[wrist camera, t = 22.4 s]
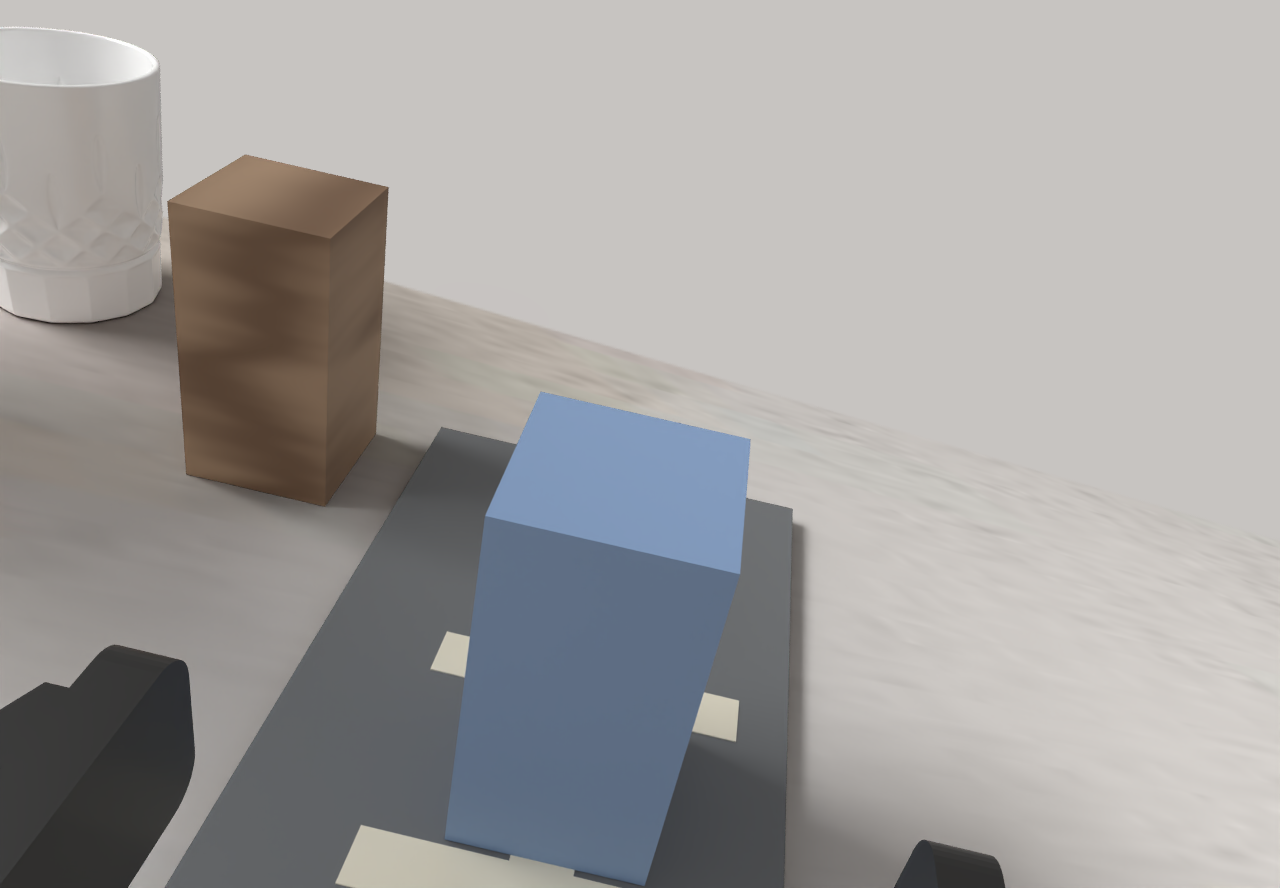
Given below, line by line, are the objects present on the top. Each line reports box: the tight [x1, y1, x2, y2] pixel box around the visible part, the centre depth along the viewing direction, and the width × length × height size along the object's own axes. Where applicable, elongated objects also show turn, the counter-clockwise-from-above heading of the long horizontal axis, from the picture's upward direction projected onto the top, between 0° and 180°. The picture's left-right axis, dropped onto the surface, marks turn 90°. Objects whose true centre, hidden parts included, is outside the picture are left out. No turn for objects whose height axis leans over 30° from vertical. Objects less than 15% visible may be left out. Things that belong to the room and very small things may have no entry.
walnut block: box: [167, 155, 388, 507], centre depth 35 cm, size 5×5×10 cm
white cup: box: [0, 27, 163, 323], centre depth 42 cm, size 8×8×10 cm
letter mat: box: [165, 427, 793, 888], centre depth 31 cm, size 14×22×1 cm, turn 172°
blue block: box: [445, 392, 751, 886], centre depth 24 cm, size 5×5×10 cm
